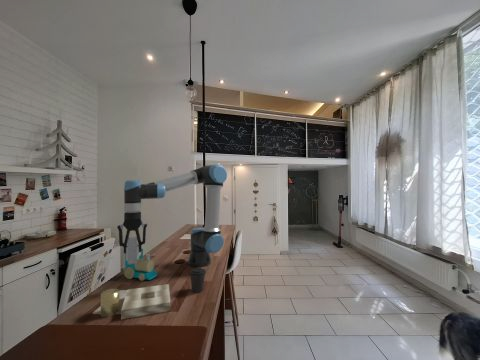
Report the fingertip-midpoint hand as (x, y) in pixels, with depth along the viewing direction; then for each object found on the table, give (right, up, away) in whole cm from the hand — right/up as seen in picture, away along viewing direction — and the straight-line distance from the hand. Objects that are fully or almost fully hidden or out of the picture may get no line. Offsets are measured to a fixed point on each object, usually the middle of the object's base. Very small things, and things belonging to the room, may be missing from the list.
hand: (132, 259), depth 110 cm
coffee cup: (+32, -15, 0) cm, 35 cm away
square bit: (0, -2, 0) cm, 2 cm away
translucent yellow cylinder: (0, -15, -20) cm, 24 cm away
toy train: (-3, -16, +15) cm, 22 cm away
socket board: (+13, -15, -13) cm, 23 cm away
